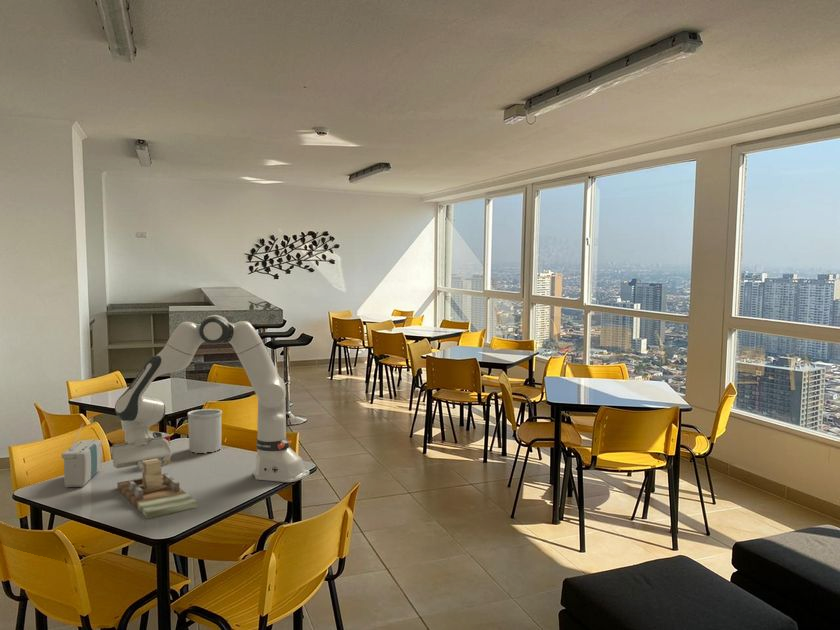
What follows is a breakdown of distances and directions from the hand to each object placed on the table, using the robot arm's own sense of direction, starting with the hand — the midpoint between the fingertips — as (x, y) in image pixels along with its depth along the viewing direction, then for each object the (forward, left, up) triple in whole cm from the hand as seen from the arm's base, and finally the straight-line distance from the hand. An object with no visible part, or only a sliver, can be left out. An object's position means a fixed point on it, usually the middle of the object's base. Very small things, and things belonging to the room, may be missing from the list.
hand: (147, 472), depth 222 cm
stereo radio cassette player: (+31, +2, -7) cm, 32 cm away
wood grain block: (-5, +3, -4) cm, 7 cm away
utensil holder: (+19, -50, -7) cm, 54 cm away
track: (-9, +4, -6) cm, 12 cm away
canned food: (+21, -26, -7) cm, 34 cm away
